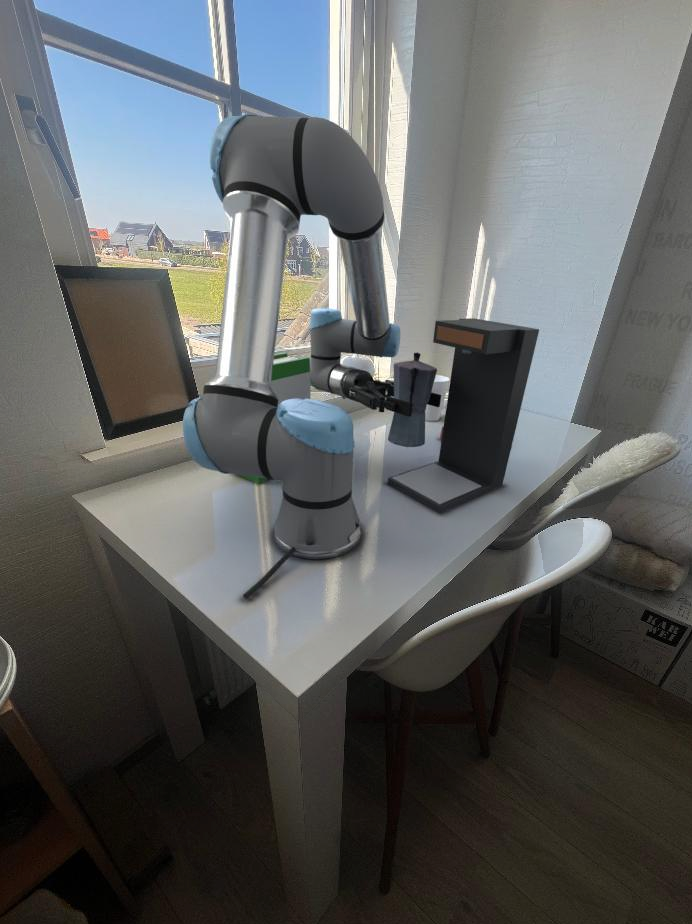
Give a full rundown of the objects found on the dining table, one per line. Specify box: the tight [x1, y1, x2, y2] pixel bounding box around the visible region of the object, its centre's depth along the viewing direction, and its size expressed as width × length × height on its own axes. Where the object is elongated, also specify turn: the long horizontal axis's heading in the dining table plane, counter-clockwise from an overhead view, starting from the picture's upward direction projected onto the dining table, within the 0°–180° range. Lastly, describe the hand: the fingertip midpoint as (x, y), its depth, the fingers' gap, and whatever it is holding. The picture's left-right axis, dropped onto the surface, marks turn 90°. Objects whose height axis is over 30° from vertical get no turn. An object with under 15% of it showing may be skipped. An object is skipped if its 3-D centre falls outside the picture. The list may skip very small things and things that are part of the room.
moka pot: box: [387, 352, 438, 448], centre depth 94 cm, size 10×15×20 cm, turn 178°
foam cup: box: [425, 374, 450, 422], centre depth 135 cm, size 10×9×13 cm
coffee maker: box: [387, 317, 540, 514], centre depth 88 cm, size 22×16×34 cm
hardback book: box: [235, 352, 312, 484], centre depth 93 cm, size 18×7×24 cm, turn 148°
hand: (425, 405), depth 91 cm, fingers closed on moka pot, 10 cm apart
